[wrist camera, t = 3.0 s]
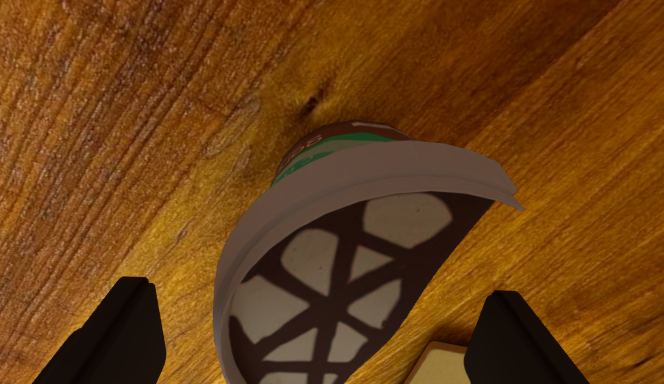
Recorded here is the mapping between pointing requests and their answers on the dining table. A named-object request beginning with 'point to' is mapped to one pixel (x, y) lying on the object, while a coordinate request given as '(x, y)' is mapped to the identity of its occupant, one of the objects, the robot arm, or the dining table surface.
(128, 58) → the dining table surface
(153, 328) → the robot arm
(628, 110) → the dining table surface
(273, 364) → the food container
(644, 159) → the dining table surface
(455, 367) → the saucer
